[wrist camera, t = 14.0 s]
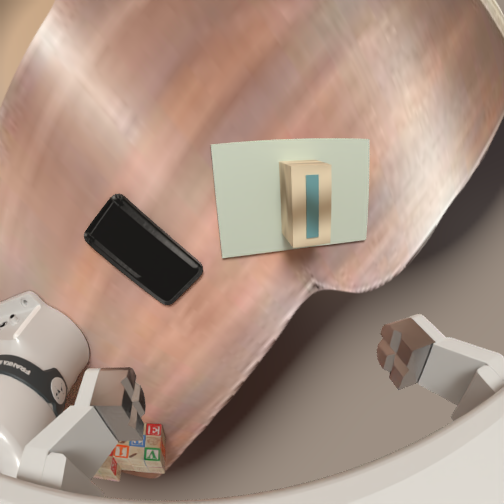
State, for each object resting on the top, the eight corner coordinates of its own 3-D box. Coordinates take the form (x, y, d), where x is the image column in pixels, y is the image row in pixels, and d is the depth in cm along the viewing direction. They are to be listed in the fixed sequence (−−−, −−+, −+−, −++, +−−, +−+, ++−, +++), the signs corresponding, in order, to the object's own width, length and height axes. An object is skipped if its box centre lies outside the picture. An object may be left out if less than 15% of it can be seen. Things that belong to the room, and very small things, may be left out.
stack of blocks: (162, 423, 50) (161, 474, 39) (165, 438, 52) (165, 486, 41) (65, 411, 46) (52, 457, 35) (74, 427, 48) (64, 471, 37)
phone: (115, 191, 32) (206, 270, 38) (118, 189, 33) (206, 266, 39) (80, 238, 33) (167, 308, 39) (83, 235, 34) (168, 304, 40)
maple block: (278, 161, 34) (291, 166, 29) (314, 159, 35) (331, 164, 30) (281, 232, 38) (293, 248, 33) (315, 229, 38) (330, 243, 34)
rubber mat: (222, 256, 38) (222, 258, 38) (210, 144, 33) (211, 145, 32) (364, 238, 41) (365, 239, 40) (367, 138, 35) (369, 139, 35)
